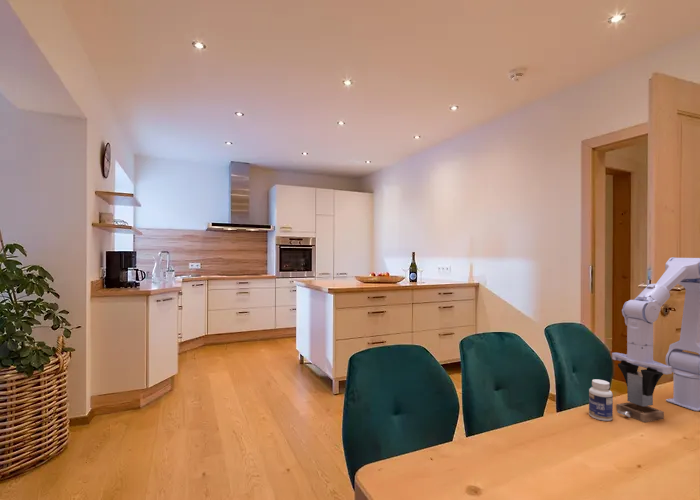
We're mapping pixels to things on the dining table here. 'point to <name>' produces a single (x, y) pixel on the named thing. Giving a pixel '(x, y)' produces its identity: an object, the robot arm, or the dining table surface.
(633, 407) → the walnut clamp block
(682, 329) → the robot arm
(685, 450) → the dining table surface
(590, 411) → the pill bottle
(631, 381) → the steel post
